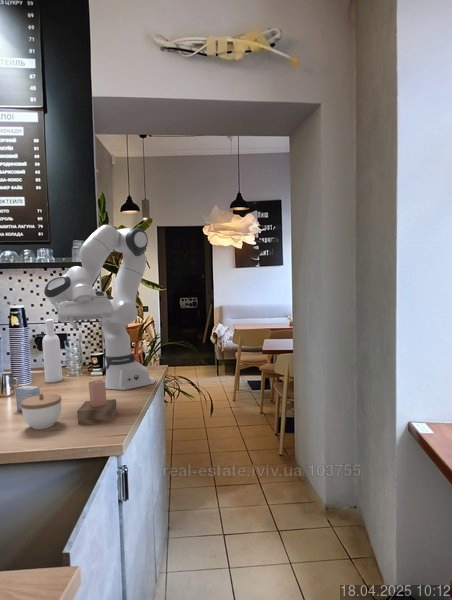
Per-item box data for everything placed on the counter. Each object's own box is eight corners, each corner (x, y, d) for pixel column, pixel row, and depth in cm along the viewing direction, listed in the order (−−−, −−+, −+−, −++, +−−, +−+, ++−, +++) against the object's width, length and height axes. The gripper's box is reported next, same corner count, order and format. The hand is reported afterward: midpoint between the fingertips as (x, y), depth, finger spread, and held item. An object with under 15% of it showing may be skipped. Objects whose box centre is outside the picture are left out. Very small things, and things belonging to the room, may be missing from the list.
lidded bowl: (22, 435, 136) (19, 401, 135) (23, 422, 148) (21, 392, 147) (64, 427, 141) (61, 395, 140) (62, 416, 152) (60, 386, 152)
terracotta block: (102, 401, 153) (101, 379, 152) (106, 404, 149) (105, 382, 149) (90, 404, 151) (88, 382, 150) (93, 407, 147) (92, 384, 146)
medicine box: (41, 408, 163) (40, 386, 163) (33, 412, 159) (31, 389, 158) (25, 407, 166) (24, 385, 165) (16, 410, 162) (14, 388, 161)
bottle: (41, 381, 205) (37, 320, 203) (56, 377, 212) (51, 318, 210) (51, 383, 201) (46, 320, 199) (65, 379, 207) (61, 318, 205)
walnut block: (116, 412, 156) (116, 399, 155) (111, 423, 145) (110, 408, 144) (86, 414, 155) (85, 401, 154) (78, 425, 144) (77, 411, 143)
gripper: (54, 295, 158) (59, 324, 150) (110, 292, 167) (117, 318, 159) (54, 306, 162) (58, 335, 154) (108, 302, 171) (115, 329, 163)
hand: (88, 326), depth 157 cm, fingers open, 8 cm apart
